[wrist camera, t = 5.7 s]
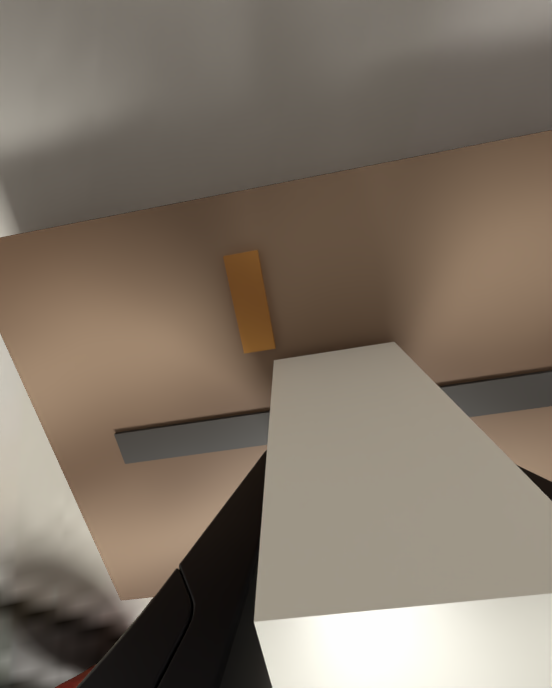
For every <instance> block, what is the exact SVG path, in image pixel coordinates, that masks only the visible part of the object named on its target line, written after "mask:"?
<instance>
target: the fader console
mask: <svg viewBox="0 0 552 688" xmlns="http://www.w3.org/2000/svg"><path fill="white" fill-rule="evenodd" d="M0 333H1V336H2V338H3V340H4V342H5V345H6V347H7V349H8V351H9V353H10V356H11V358H12V360H13V362H14V365H15V367H16V369H17V371H18V373H19V376H20V378H21V380H22V382H23V385H24V387H25V389H26V391H27V393H28V396H29V398H30V400H31V402H32V404H33V407H34V409H35V411H36V413H37V416H38V418H39V420H40V422H41V424H42V427H43V429H44V431H45V433H46V436H47V438H48V440H49V442H50V444H51V447H52V449H53V451H54V453H55V455H56V458H57V460H58V462H59V464H60V467H61V469H62V471H63V473H64V475H65V478H66V480H67V482H68V484H69V487H70V489H71V491H72V493H73V495H74V498H75V500H76V502H77V504H78V507H79V509H80V511H81V513H82V515H83V518H84V520H85V522H86V524H87V526H88V529H89V531H90V533H91V535H92V538H93V540H94V542H95V544H96V546H97V549H98V551H99V553H100V555H101V558H102V560H103V562H104V564H105V566H106V569H107V571H108V573H109V575H110V577H111V580H112V582H113V584H114V586H115V589H116V591H117V593H118V595H119V597H120V600H130V599H139V598H149V597H154V596H155V595H156V594H157V592H158V591H159V590H160V589H161V587H162V586H163V585H164V583H165V582H166V581H167V580H168V578H169V577H170V576H171V574H172V573H173V572H174V570H175V569H177V568H179V564H180V563H181V561H182V560H183V559H184V557H185V556H186V555H187V553H188V552H189V551H190V549H191V548H192V547H193V546H194V544H195V543H196V542H197V540H198V539H199V538H200V536H201V535H202V534H203V532H204V531H205V530H206V528H207V527H208V526H209V524H210V523H211V522H212V520H213V519H214V518H215V517H216V515H217V514H218V513H219V511H220V510H221V509H222V507H223V506H224V505H225V503H226V502H227V501H228V499H229V498H230V497H231V495H232V494H233V493H234V491H235V490H236V489H237V488H238V486H239V485H240V484H241V482H242V481H243V480H244V478H245V477H246V476H247V474H248V473H249V472H250V470H251V469H252V468H253V466H254V465H255V464H256V462H257V461H258V460H259V459H260V457H261V456H262V455H263V453H264V452H265V451H266V450H267V443H268V430H269V417H270V404H271V391H272V378H273V365H274V360H279V359H285V358H292V357H298V356H305V355H311V354H318V353H324V352H331V351H337V350H344V349H350V348H356V347H363V346H369V345H376V344H382V343H389V342H395V343H396V344H397V345H398V346H399V347H400V348H401V349H402V350H403V351H404V352H405V353H406V354H407V355H408V356H409V357H410V358H411V359H412V360H413V361H414V362H415V363H416V364H417V365H418V366H419V367H420V368H421V369H422V370H423V371H424V372H425V373H426V374H427V375H428V376H429V377H430V378H431V379H432V380H433V381H434V382H435V383H436V384H437V385H438V386H439V387H440V388H441V389H442V390H443V391H444V392H445V393H446V394H447V395H448V396H449V397H450V398H451V399H452V400H453V402H454V403H455V404H456V405H457V406H458V407H459V408H460V409H461V410H462V411H463V412H464V413H465V414H466V415H467V416H468V417H469V418H470V419H471V420H472V421H473V422H474V423H475V424H476V425H477V426H478V427H479V428H480V429H481V430H482V431H483V432H484V433H485V434H486V435H487V436H488V437H489V438H490V439H491V440H492V441H493V442H494V443H495V444H496V445H497V446H498V447H499V448H500V449H501V450H502V451H503V452H504V453H505V454H506V455H507V456H508V457H509V458H510V459H511V460H512V461H513V462H514V463H515V464H516V465H518V466H520V467H522V468H524V469H526V470H528V471H530V472H533V473H535V474H537V475H539V476H541V477H543V478H545V479H547V480H549V481H551V482H552V130H550V131H545V132H539V133H534V134H529V135H524V136H519V137H514V138H509V139H503V140H498V141H493V142H488V143H483V144H478V145H473V146H468V147H462V148H457V149H452V150H447V151H442V152H437V153H432V154H426V155H421V156H416V157H411V158H406V159H401V160H396V161H391V162H385V163H380V164H375V165H370V166H365V167H360V168H355V169H349V170H344V171H339V172H334V173H329V174H324V175H319V176H314V177H308V178H303V179H298V180H293V181H288V182H283V183H278V184H272V185H267V186H262V187H257V188H252V189H247V190H242V191H237V192H231V193H226V194H221V195H216V196H211V197H206V198H201V199H195V200H190V201H185V202H180V203H175V204H170V205H165V206H160V207H154V208H149V209H144V210H139V211H134V212H129V213H124V214H119V215H113V216H108V217H103V218H98V219H93V220H88V221H83V222H77V223H72V224H67V225H62V226H57V227H52V228H47V229H42V230H36V231H31V232H26V233H21V234H16V235H11V236H6V237H0Z"/></svg>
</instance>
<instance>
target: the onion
mask: <svg viewBox="0 0 552 688" xmlns="http://www.w3.org/2000/svg"><path fill="white" fill-rule="evenodd" d="M96 665H97V664H96ZM96 665H94V666H92V667H90V668H88V669H87V670H86V671H84V672H83V673H81V674H79V675H77V676H76V677H74V678H72V679H70V680H68V681H66V682H64V683H62V684H60V685H59V686H57V687H55V688H76V687H77V686H78V685H79V684H80V683H81V681H82V680H83V679H84V678H85V677H86V676H87V675H88V674H89V673H90V671H91V670H92V669H93V668H94V667H95V666H96Z"/></svg>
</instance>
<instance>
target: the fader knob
mask: <svg viewBox="0 0 552 688" xmlns="http://www.w3.org/2000/svg"><path fill="white" fill-rule="evenodd" d="M254 624H255V628H256V632H257V635H258V639H259V642H260V646H261V649H262V653H263V656H264V660H265V663H266V667H267V670H268V674H269V677H270V681H271V684H272V688H552V501H551V500H550V499H549V498H548V497H547V496H546V495H545V494H544V493H543V492H542V491H541V489H540V488H539V487H538V486H537V485H536V484H535V483H534V482H533V481H532V480H531V479H530V478H529V477H528V476H527V475H526V474H525V473H524V472H523V471H522V470H521V469H520V468H519V467H518V466H517V465H516V464H515V463H514V462H513V461H512V460H511V459H510V458H509V457H508V456H507V455H506V454H505V453H504V452H503V451H502V450H501V449H500V448H499V447H498V446H497V445H496V444H495V443H494V442H493V441H492V440H491V439H490V438H489V437H488V436H487V435H486V434H485V433H484V432H483V431H482V430H481V429H480V428H479V427H478V426H477V425H476V424H475V423H474V422H473V421H472V420H471V419H470V418H469V417H468V416H467V415H466V414H465V413H464V412H463V411H462V410H461V409H460V408H459V407H458V406H457V405H456V404H455V403H454V402H453V400H452V399H451V398H450V397H449V396H448V395H447V394H446V393H445V392H444V391H443V390H442V389H441V388H440V387H439V386H438V385H437V384H436V383H435V382H434V381H433V380H432V379H431V378H430V377H429V376H428V375H427V374H426V373H425V372H424V371H423V370H422V369H421V368H420V367H419V366H418V365H417V364H416V363H415V362H414V361H413V360H412V359H411V358H410V357H409V356H408V355H407V354H406V353H405V352H404V351H403V350H402V349H401V348H400V347H399V346H398V345H397V344H396V343H395V342H389V343H382V344H376V345H369V346H363V347H356V348H350V349H344V350H337V351H331V352H324V353H318V354H311V355H305V356H298V357H292V358H285V359H279V360H274V365H273V378H272V391H271V404H270V417H269V430H268V443H267V456H266V469H265V482H264V495H263V508H262V521H261V534H260V547H259V560H258V573H257V586H256V599H255V612H254Z"/></svg>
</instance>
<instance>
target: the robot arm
mask: <svg viewBox="0 0 552 688" xmlns="http://www.w3.org/2000/svg"><path fill="white" fill-rule="evenodd" d="M266 456H267V450H266V451H265V452H264V453H263V455H262V456H261V457H260V459H259V460H258V461H257V462H256V464H255V465H254V466H253V468H252V469H251V470H250V472H249V473H248V474H247V476H246V477H245V478H244V480H243V481H242V482H241V484H240V485H239V486H238V488H237V489H236V490H235V491H234V493H233V494H232V495H231V497H230V498H229V499H228V501H227V502H226V503H225V505H224V506H223V507H222V509H221V510H220V511H219V513H218V514H217V515H216V517H215V518H214V519H213V520H212V522H211V523H210V524H209V526H208V527H207V528H206V530H205V531H204V532H203V534H202V535H201V536H200V538H199V539H198V540H197V542H196V543H195V544H194V546H193V547H192V548H191V549H190V551H189V552H188V553H187V555H186V556H185V557H184V559H183V560H182V561H181V563H180V564H179V568H177V569H175V570H174V572H173V573H172V574H171V576H170V577H169V578H168V580H167V581H166V582H165V583H164V585H163V586H162V587H161V589H160V590H159V591H158V592H157V594H156V595H155V596H154V597H153V599H152V600H151V601H150V602H149V604H148V605H147V606H146V608H145V609H144V610H143V611H142V613H141V614H140V615H139V616H138V618H137V619H136V620H135V621H134V622H133V623H132V624H131V626H130V627H129V628H128V629H127V630H126V631H125V633H124V634H123V635H122V636H121V637H120V638H119V640H118V641H117V642H116V643H115V644H114V645H113V647H112V648H111V649H110V650H109V651H108V652H107V653H106V655H105V656H104V657H103V658H102V659H101V660H100V661H99V662H98V664H97V665H96V666H95V667H94V668H93V669H92V670H91V671H90V673H89V674H88V675H87V676H86V677H85V678H84V679H83V680H82V681H81V683H80V684H79V685H78V686H77V687H76V688H272V684H271V681H270V677H269V674H268V670H267V667H266V663H265V660H264V656H263V653H262V649H261V646H260V642H259V639H258V635H257V632H256V628H255V624H254V612H255V599H256V586H257V573H258V560H259V547H260V534H261V521H262V508H263V495H264V482H265V469H266ZM517 466H518V465H517ZM518 467H519V468H520V469H521V470H522V471H523V472H524V473H525V474H526V475H527V476H528V477H529V478H530V479H531V480H532V481H533V482H534V483H535V484H536V485H537V486H538V487H539V488H540V489H541V491H542V492H543V493H544V494H545V495H546V496H547V497H548V498H549V499H550V500H551V501H552V482H551V481H549V480H547V479H545V478H543V477H541V476H539V475H537V474H535V473H533V472H530V471H528V470H526V469H524V468H522V467H520V466H518Z"/></svg>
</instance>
